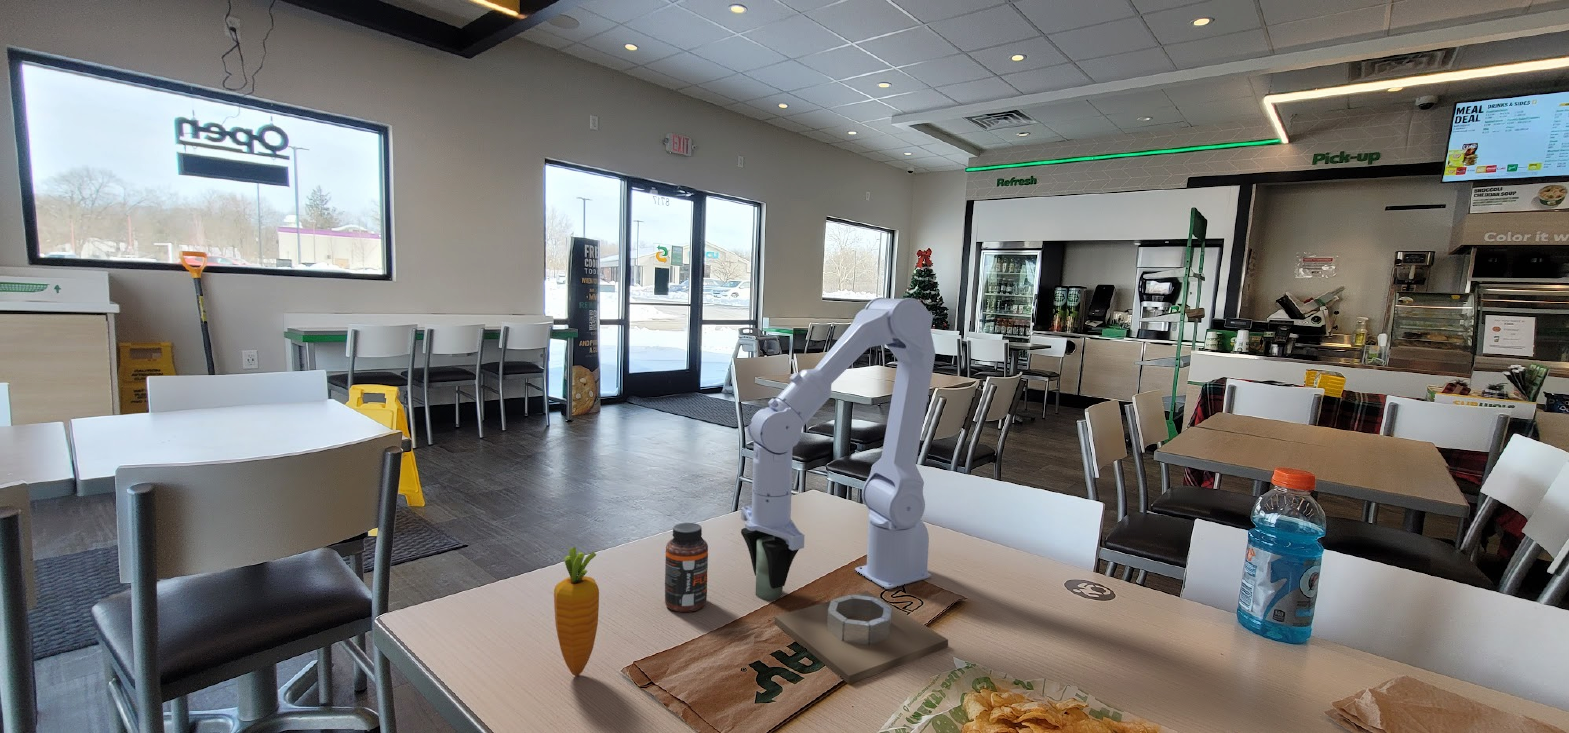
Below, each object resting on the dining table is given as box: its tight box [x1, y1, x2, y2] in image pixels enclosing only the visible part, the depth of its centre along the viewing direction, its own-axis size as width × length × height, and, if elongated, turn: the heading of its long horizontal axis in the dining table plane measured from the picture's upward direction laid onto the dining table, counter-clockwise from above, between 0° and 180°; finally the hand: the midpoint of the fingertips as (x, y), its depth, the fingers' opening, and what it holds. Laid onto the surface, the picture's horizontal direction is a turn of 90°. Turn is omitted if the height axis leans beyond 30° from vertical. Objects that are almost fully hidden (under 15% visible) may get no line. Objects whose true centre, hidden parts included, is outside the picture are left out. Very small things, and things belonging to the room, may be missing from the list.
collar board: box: [774, 590, 949, 685], centre depth 85 cm, size 16×16×1 cm
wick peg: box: [755, 537, 784, 601], centre depth 96 cm, size 4×4×8 cm
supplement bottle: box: [664, 522, 709, 613], centre depth 92 cm, size 6×6×11 cm
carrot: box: [553, 546, 600, 677], centre depth 74 cm, size 5×5×15 cm
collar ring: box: [827, 594, 891, 645], centre depth 85 cm, size 8×8×2 cm
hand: (769, 580), depth 96 cm, fingers closed on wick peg, 4 cm apart
